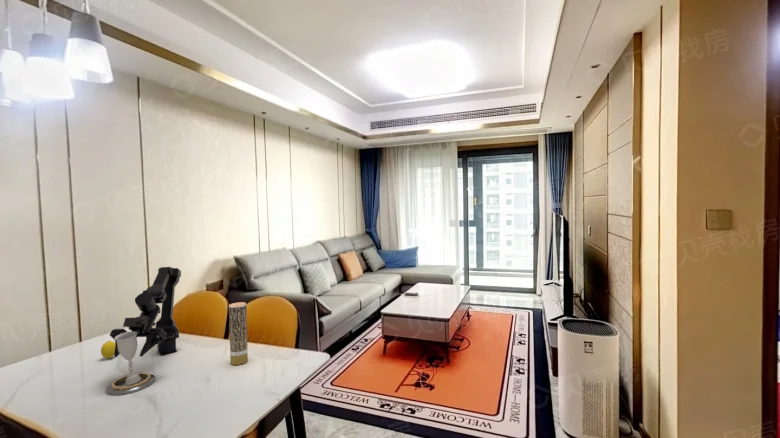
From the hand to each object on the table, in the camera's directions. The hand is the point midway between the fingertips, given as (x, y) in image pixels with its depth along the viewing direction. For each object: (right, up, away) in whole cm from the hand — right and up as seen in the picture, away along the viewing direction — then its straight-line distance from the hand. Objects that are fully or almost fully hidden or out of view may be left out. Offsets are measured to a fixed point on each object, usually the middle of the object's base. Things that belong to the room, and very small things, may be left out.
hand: (127, 356), depth 130 cm
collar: (0, -11, +2) cm, 11 cm away
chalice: (0, -10, +3) cm, 11 cm away
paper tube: (+33, -11, +20) cm, 40 cm away
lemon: (-28, -12, +27) cm, 41 cm away
